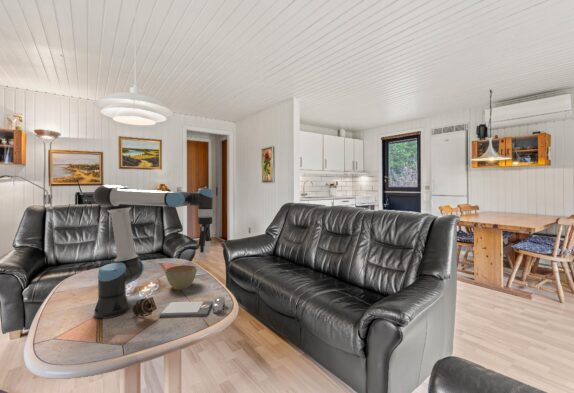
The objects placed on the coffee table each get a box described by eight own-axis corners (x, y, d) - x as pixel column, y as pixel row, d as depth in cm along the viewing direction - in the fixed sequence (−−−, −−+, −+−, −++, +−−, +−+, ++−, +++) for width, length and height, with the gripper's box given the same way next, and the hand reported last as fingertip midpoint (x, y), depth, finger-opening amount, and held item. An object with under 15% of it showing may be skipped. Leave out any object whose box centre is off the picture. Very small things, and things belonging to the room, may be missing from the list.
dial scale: (159, 317, 131) (159, 313, 131) (170, 304, 146) (170, 301, 146) (206, 315, 133) (206, 312, 133) (212, 303, 148) (212, 300, 148)
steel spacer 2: (211, 314, 135) (211, 306, 135) (213, 309, 140) (213, 302, 140) (222, 313, 135) (222, 305, 135) (223, 309, 140) (223, 301, 140)
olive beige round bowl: (178, 295, 159) (178, 274, 159) (159, 289, 168) (159, 269, 168) (202, 286, 174) (202, 267, 174) (184, 281, 184) (184, 263, 184)
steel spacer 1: (214, 308, 141) (214, 300, 141) (216, 304, 146) (216, 297, 146) (224, 308, 142) (224, 300, 142) (225, 304, 147) (225, 296, 146)
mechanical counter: (148, 323, 125) (147, 301, 125) (123, 320, 128) (123, 299, 127) (158, 316, 132) (158, 295, 132) (135, 313, 135) (135, 293, 135)
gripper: (207, 218, 139) (207, 260, 140) (216, 214, 164) (215, 250, 165) (192, 218, 139) (192, 260, 139) (203, 214, 164) (202, 250, 164)
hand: (204, 255), depth 152 cm, fingers open, 13 cm apart
